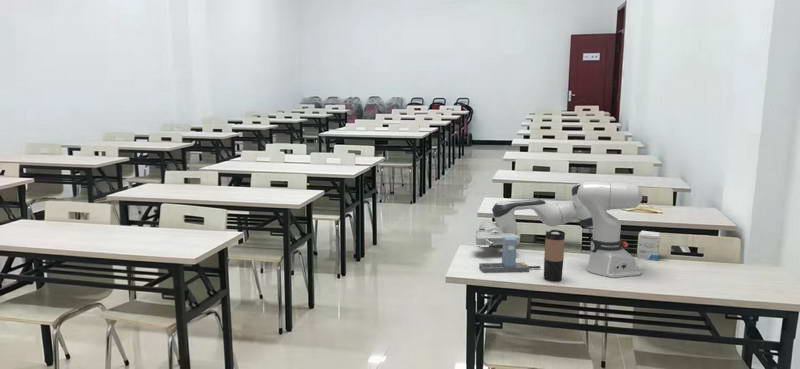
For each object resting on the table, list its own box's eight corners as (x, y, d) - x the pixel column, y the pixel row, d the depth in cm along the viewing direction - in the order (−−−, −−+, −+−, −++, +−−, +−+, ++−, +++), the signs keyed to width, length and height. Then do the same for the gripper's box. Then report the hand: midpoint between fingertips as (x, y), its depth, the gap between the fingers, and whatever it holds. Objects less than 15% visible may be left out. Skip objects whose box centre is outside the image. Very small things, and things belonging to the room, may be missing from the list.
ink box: (658, 256, 278) (660, 232, 275) (657, 261, 270) (660, 236, 268) (638, 253, 281) (640, 230, 279) (637, 258, 274) (639, 234, 271)
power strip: (537, 266, 260) (537, 261, 259) (542, 271, 253) (542, 266, 252) (479, 267, 257) (479, 262, 256) (483, 272, 250) (483, 267, 250)
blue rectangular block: (512, 267, 257) (513, 236, 255) (515, 271, 253) (516, 239, 250) (501, 268, 257) (503, 237, 254) (504, 271, 252) (506, 240, 250)
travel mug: (562, 282, 239) (565, 235, 236) (543, 281, 241) (546, 233, 237) (561, 276, 246) (564, 230, 243) (542, 275, 248) (545, 229, 244)
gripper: (514, 242, 280) (523, 250, 267) (472, 242, 278) (479, 251, 265) (515, 229, 279) (524, 236, 266) (473, 229, 277) (479, 237, 264)
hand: (501, 244), depth 265 cm, fingers open, 8 cm apart
